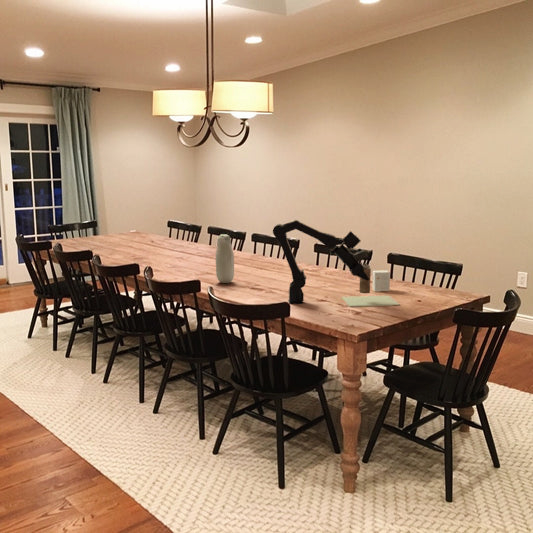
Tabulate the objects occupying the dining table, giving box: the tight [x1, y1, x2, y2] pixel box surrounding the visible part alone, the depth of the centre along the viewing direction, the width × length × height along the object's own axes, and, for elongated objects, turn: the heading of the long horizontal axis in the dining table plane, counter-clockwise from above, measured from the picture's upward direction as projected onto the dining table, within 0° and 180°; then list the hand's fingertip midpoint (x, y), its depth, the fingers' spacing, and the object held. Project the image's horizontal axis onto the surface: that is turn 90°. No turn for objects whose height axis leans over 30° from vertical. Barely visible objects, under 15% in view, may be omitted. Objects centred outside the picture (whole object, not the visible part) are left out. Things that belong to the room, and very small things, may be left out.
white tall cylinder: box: [214, 233, 235, 284], centre depth 313 cm, size 10×10×28 cm
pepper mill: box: [358, 263, 372, 294], centre depth 263 cm, size 5×5×14 cm
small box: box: [372, 269, 391, 293], centre depth 290 cm, size 8×6×10 cm
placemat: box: [341, 295, 400, 308], centre depth 267 cm, size 24×18×1 cm
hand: (367, 278), depth 263 cm, fingers closed on pepper mill, 5 cm apart
